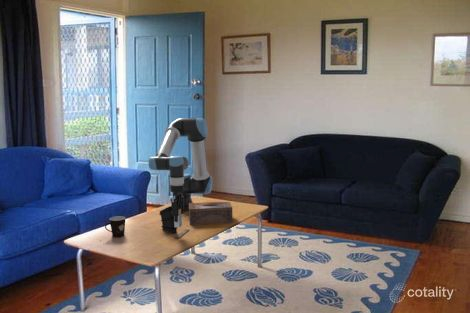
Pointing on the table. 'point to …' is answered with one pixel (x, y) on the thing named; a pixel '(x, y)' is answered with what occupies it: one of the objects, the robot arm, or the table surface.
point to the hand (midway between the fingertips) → (178, 226)
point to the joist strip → (181, 234)
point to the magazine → (168, 220)
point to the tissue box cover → (210, 213)
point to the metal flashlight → (179, 217)
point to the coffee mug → (117, 226)
